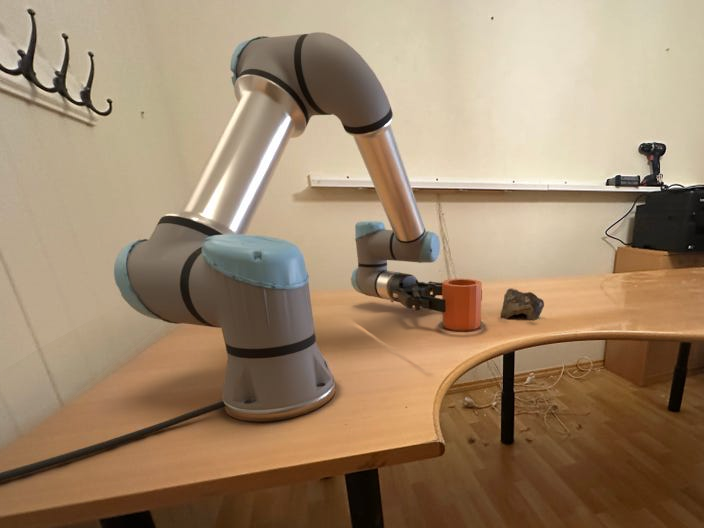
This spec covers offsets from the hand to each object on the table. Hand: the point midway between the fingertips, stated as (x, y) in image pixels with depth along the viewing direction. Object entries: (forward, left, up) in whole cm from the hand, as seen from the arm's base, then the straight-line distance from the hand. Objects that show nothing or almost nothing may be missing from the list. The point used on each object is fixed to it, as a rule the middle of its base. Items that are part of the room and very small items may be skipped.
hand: (463, 300), depth 92 cm
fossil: (+18, 0, -7) cm, 19 cm away
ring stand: (0, +1, -7) cm, 7 cm away
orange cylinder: (0, +1, -6) cm, 6 cm away
